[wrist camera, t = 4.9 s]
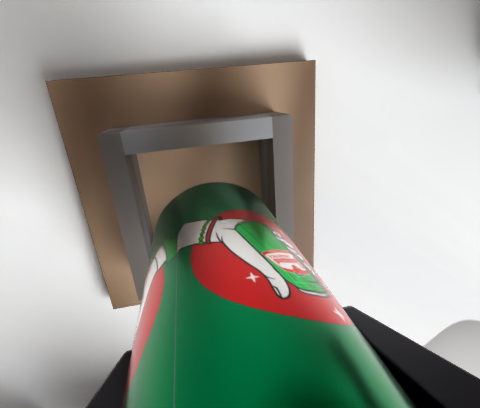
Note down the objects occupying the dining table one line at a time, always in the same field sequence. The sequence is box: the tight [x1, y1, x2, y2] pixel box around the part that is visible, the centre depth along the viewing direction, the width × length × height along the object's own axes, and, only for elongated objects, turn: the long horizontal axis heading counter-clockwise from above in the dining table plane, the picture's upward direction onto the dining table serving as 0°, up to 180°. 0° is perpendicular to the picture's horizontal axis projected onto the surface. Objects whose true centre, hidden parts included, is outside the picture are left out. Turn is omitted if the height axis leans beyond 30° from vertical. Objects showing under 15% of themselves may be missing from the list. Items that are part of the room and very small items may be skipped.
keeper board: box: [46, 60, 315, 309], centre depth 17 cm, size 14×14×4 cm
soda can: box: [122, 182, 417, 408], centre depth 7 cm, size 5×5×12 cm
